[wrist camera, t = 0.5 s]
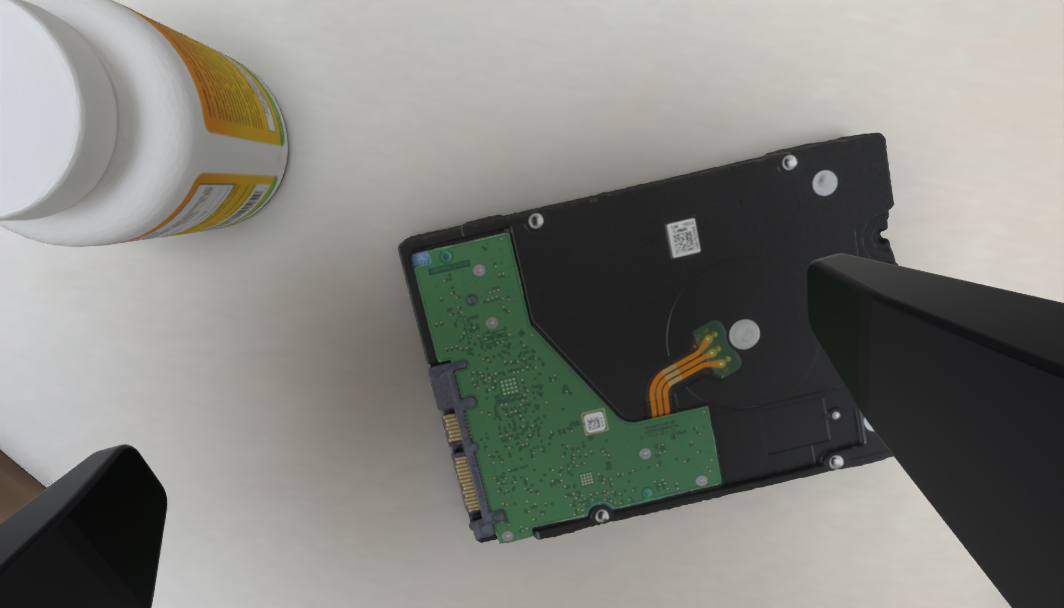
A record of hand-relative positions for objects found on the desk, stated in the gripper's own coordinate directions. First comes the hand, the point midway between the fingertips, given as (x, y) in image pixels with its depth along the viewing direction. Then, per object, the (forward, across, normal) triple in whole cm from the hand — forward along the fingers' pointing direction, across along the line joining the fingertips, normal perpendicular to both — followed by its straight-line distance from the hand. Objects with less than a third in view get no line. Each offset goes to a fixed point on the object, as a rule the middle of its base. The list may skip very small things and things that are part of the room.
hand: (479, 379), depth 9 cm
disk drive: (+12, -5, +8) cm, 15 cm away
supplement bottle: (+15, +8, -1) cm, 17 cm away
